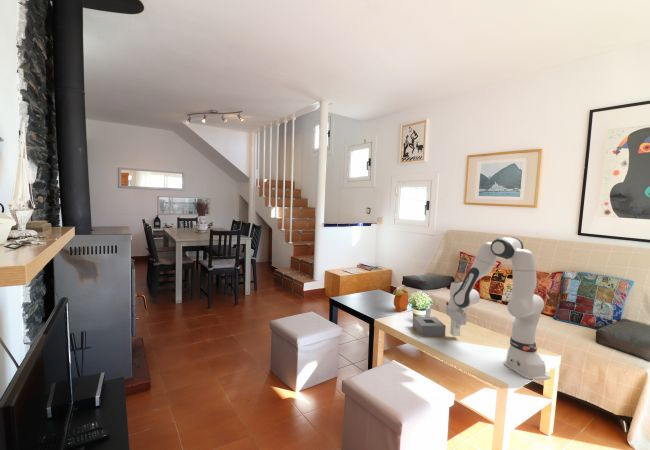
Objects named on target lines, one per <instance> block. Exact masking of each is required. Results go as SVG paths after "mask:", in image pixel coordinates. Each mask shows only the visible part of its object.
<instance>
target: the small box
mask: <svg viewBox="0 0 650 450" xmlns="http://www.w3.org/2000/svg"><path fill="white" fill-rule="evenodd" d="M431 313H432V308H431V307H430V306H428V308H427V309H426V315H425V317H431Z"/></svg>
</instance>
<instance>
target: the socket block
mask: <svg viewBox="0 0 650 450" xmlns="http://www.w3.org/2000/svg"><path fill="white" fill-rule="evenodd" d="M412 320H413V321H412V327H413V329H414V330H415V331H416V332H417V333H418V334H419V335H420V336H421V337H446V330H447V329H446V325H445V324H444V323H443V322H442V321H441V320H440V319H438V318H437V316H430V317H417V316H413V319H412Z"/></svg>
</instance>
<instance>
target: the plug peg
mask: <svg viewBox="0 0 650 450" xmlns="http://www.w3.org/2000/svg"><path fill="white" fill-rule="evenodd" d="M456 325H457V322H456V321H455V320H453V319H452V318H451V317H450V331H449V333H450V335H452V336H453V337H460V336H461V327H460V328H459V329H457V328H456Z"/></svg>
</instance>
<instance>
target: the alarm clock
mask: <svg viewBox="0 0 650 450" xmlns="http://www.w3.org/2000/svg"><path fill="white" fill-rule="evenodd" d="M401 287H402V285H401V286H399V288H401ZM403 287H404V288H402V289H397V290H396V291H395V294H394V298H393V306H394V307H395V308H394V312H398V313H403V311H408V306H409V303H408V298H409V299H410V297H409V291H408V290H407V288H405V287H406V286H405V285H403Z"/></svg>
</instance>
